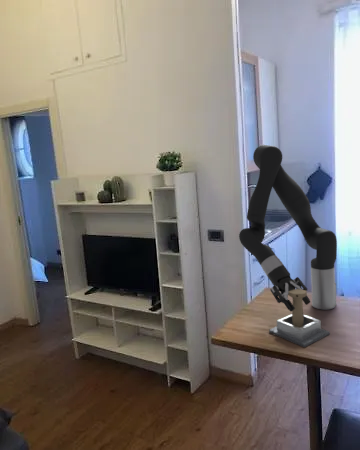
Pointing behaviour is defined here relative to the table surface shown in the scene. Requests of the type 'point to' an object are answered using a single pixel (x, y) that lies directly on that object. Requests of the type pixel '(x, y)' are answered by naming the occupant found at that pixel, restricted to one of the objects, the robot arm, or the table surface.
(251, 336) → the table surface
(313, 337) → the socket
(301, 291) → the handle
